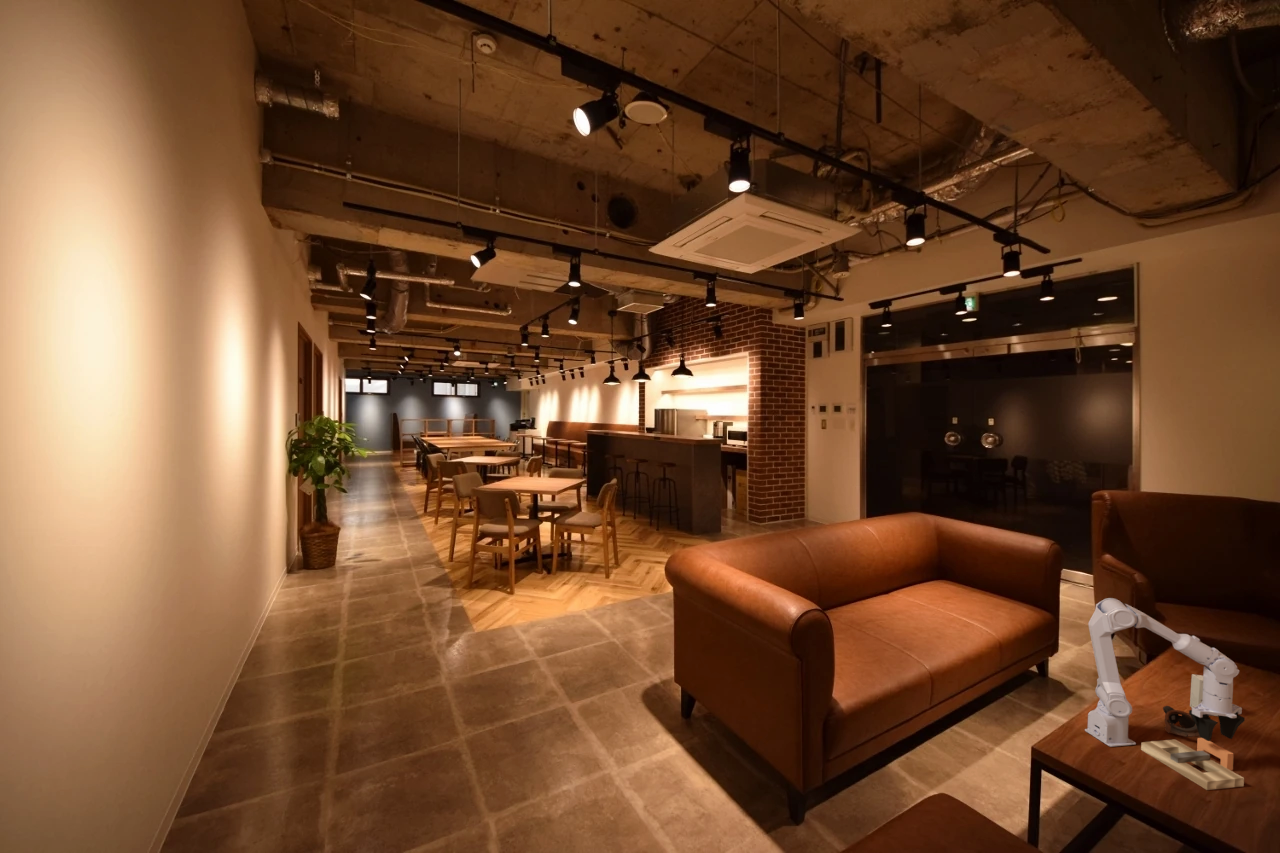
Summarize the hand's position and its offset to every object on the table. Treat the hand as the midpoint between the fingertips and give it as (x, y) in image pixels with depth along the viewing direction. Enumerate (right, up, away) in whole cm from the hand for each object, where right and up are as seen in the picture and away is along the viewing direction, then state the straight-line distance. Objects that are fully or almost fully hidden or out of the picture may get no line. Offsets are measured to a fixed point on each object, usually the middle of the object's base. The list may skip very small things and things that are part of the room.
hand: (1215, 737), depth 145 cm
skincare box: (+25, -7, +24) cm, 36 cm away
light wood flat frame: (-10, -8, -2) cm, 13 cm away
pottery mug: (+5, -7, +14) cm, 16 cm away
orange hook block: (0, -8, 0) cm, 8 cm away
